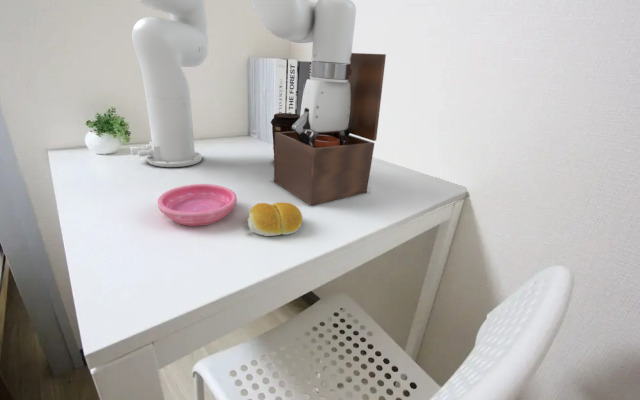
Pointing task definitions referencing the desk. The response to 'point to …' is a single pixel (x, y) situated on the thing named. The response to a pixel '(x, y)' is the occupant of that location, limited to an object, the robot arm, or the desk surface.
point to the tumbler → (326, 141)
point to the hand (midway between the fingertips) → (322, 160)
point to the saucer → (197, 204)
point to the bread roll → (274, 219)
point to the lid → (366, 93)
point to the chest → (322, 168)
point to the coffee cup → (282, 124)
